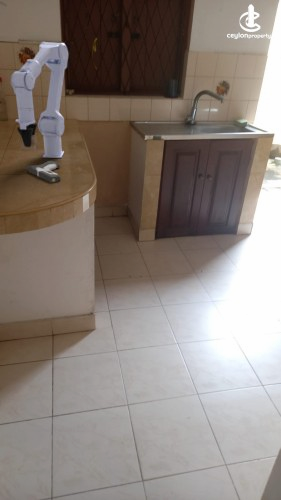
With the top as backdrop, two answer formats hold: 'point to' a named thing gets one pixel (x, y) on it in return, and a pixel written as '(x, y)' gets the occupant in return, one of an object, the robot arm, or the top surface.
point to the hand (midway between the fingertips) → (29, 144)
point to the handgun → (46, 171)
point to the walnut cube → (33, 144)
